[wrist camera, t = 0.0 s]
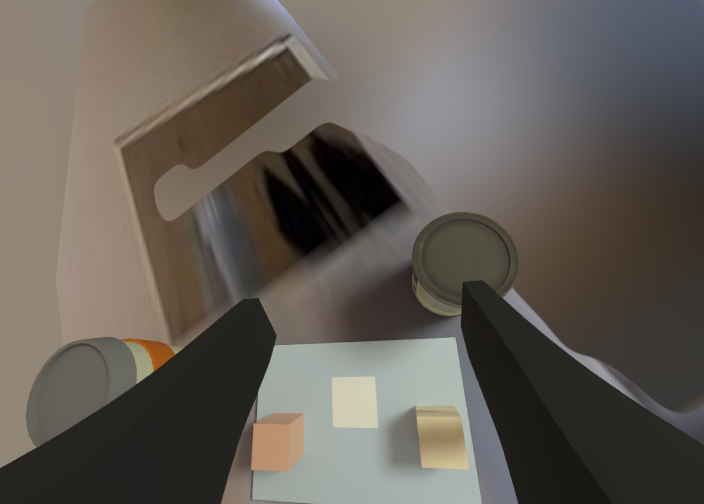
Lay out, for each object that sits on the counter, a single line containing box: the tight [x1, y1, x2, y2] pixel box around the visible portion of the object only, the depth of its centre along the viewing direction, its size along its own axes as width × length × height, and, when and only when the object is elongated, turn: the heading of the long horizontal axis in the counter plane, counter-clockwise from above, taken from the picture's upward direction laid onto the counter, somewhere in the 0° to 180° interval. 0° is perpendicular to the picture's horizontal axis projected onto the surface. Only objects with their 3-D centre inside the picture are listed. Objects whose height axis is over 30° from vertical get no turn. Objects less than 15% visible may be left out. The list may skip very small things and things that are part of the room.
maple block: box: [416, 406, 469, 469], centre depth 32 cm, size 5×5×5 cm
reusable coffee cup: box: [26, 337, 184, 447], centre depth 38 cm, size 12×13×15 cm
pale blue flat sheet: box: [252, 337, 482, 504], centre depth 37 cm, size 20×30×1 cm, turn 93°
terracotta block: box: [251, 413, 304, 472], centre depth 36 cm, size 5×5×5 cm
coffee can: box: [412, 212, 519, 316], centre depth 33 cm, size 10×10×14 cm
